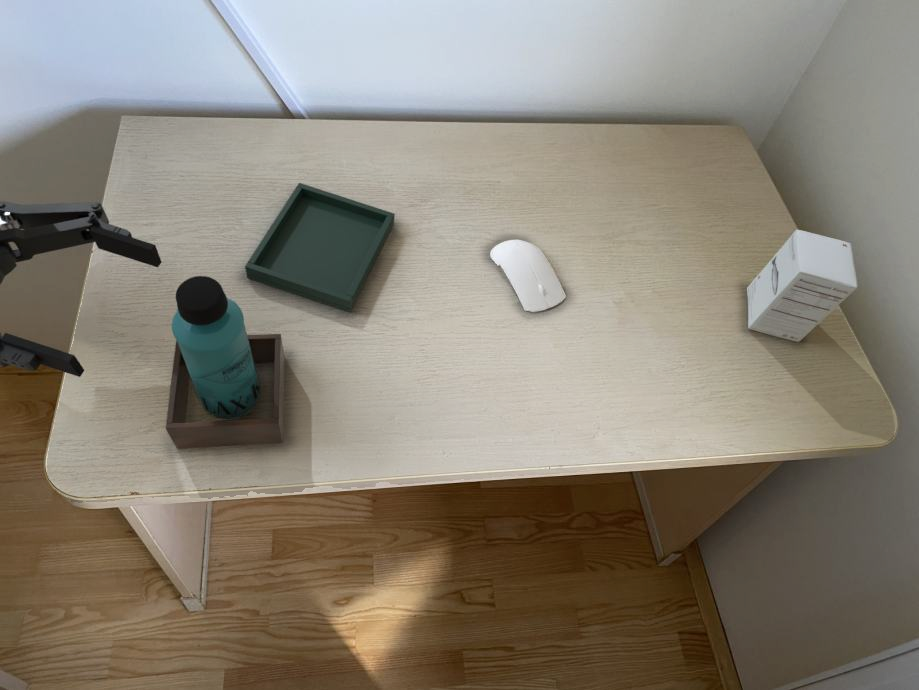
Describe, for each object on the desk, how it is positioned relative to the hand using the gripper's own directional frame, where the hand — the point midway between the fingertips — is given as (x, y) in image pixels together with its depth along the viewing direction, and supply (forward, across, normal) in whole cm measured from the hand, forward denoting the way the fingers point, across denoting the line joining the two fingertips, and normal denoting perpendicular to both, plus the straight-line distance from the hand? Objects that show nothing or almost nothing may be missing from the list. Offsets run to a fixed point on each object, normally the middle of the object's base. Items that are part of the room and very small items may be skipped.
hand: (119, 308), depth 63 cm
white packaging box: (+70, -36, -13) cm, 80 cm away
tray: (+10, -24, -13) cm, 29 cm away
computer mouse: (+37, -30, -13) cm, 49 cm away
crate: (+10, 0, -13) cm, 16 cm away
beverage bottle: (+10, 0, -13) cm, 16 cm away
